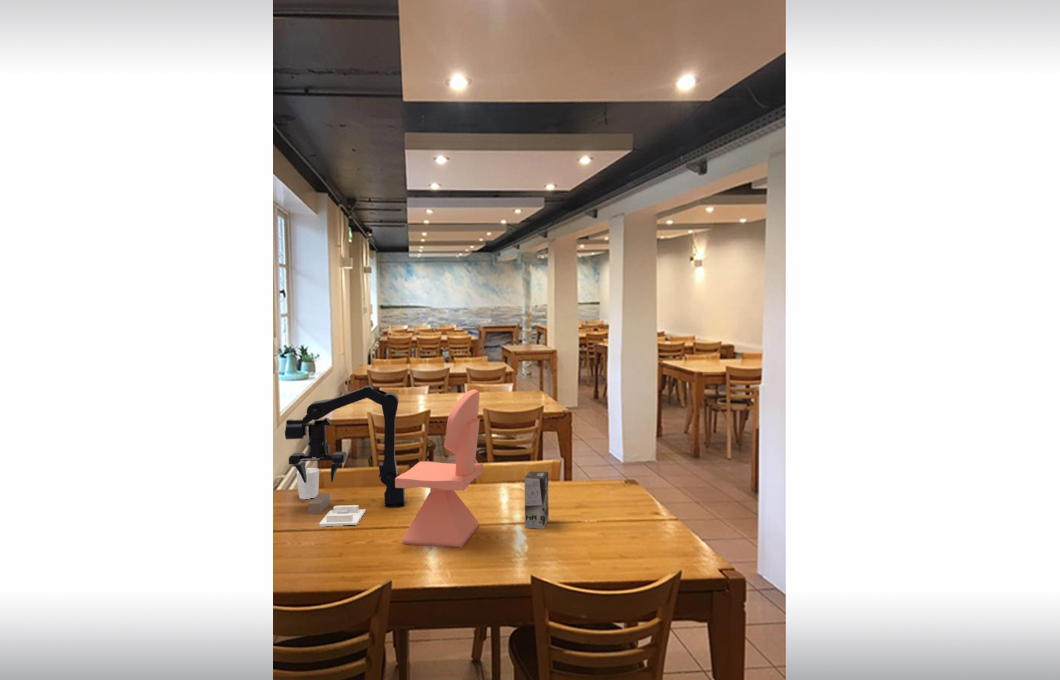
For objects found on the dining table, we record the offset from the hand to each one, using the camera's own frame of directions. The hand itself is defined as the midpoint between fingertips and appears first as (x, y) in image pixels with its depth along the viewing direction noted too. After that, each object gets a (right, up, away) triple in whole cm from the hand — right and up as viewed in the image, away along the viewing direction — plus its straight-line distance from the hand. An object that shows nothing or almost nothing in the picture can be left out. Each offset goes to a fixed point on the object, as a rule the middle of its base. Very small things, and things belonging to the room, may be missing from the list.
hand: (318, 482), depth 230 cm
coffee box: (+76, -10, -18) cm, 79 cm away
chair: (+47, -11, -27) cm, 56 cm away
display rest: (+12, -10, -11) cm, 19 cm away
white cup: (-9, -9, +15) cm, 20 cm away
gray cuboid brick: (0, -10, 0) cm, 10 cm away
